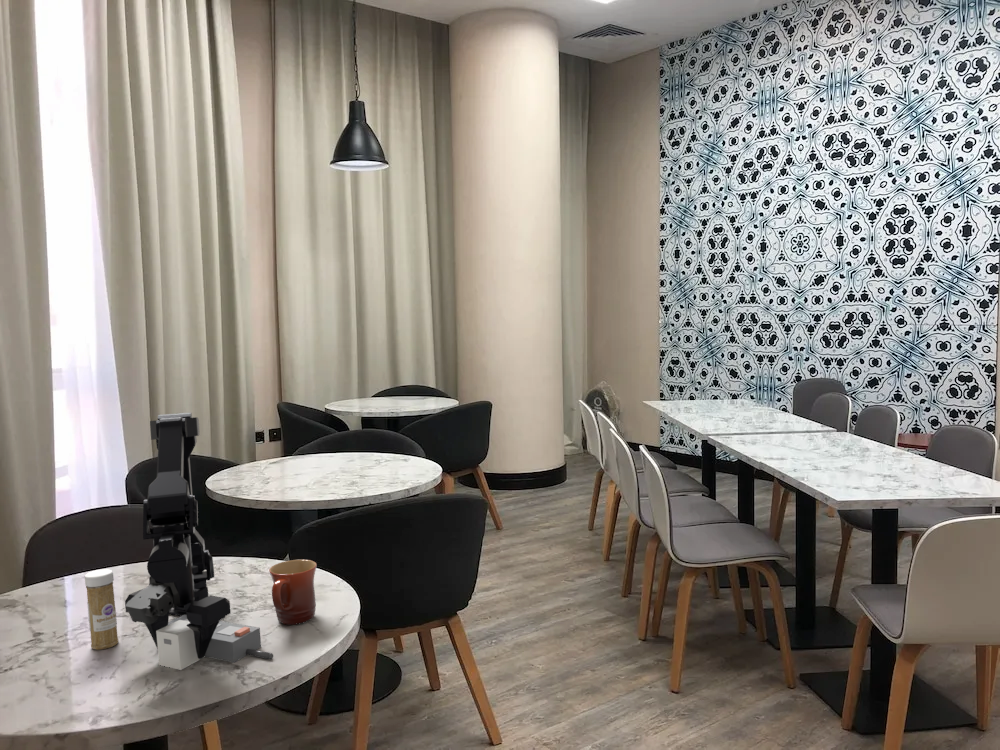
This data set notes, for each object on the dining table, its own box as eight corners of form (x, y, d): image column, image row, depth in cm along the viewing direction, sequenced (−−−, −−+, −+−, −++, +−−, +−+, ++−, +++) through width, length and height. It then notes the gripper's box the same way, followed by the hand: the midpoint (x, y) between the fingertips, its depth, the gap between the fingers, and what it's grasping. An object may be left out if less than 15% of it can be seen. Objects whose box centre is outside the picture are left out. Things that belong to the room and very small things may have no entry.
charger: (158, 665, 134) (155, 630, 133) (193, 647, 140) (190, 614, 140) (180, 670, 131) (177, 635, 131) (214, 651, 138) (211, 618, 138)
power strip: (157, 646, 141) (155, 624, 141) (186, 632, 147) (184, 611, 147) (259, 667, 131) (257, 643, 131) (285, 651, 137) (284, 628, 137)
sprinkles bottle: (105, 651, 140) (98, 577, 139) (84, 649, 142) (78, 575, 141) (124, 641, 145) (118, 569, 143) (104, 638, 146) (98, 567, 145)
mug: (286, 609, 157) (282, 558, 156) (327, 611, 155) (324, 559, 154) (255, 634, 145) (251, 580, 144) (300, 636, 143) (296, 581, 142)
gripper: (93, 573, 130) (101, 665, 132) (176, 586, 122) (184, 684, 123) (149, 553, 140) (156, 639, 142) (229, 564, 132) (236, 654, 134)
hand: (181, 653), depth 135 cm, fingers open, 9 cm apart
